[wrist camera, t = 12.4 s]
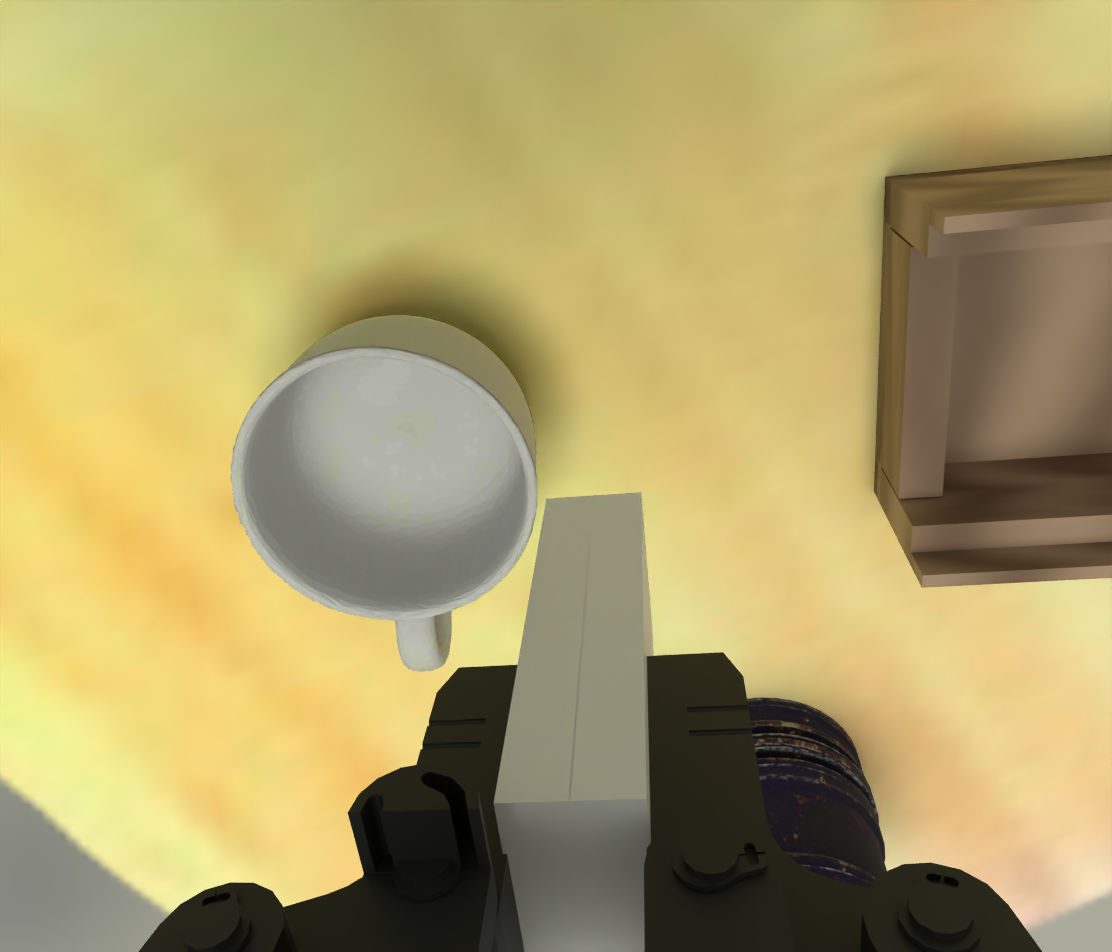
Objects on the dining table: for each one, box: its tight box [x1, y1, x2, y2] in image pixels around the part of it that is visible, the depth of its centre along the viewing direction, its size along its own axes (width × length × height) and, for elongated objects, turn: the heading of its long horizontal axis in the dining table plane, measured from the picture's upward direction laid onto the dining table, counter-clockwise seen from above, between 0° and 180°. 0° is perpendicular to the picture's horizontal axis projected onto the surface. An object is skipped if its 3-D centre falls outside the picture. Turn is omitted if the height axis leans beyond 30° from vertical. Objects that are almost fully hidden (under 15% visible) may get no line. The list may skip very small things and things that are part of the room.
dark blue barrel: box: [747, 698, 887, 888], centre depth 42 cm, size 10×10×15 cm
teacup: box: [231, 315, 537, 672], centre depth 39 cm, size 14×11×8 cm
